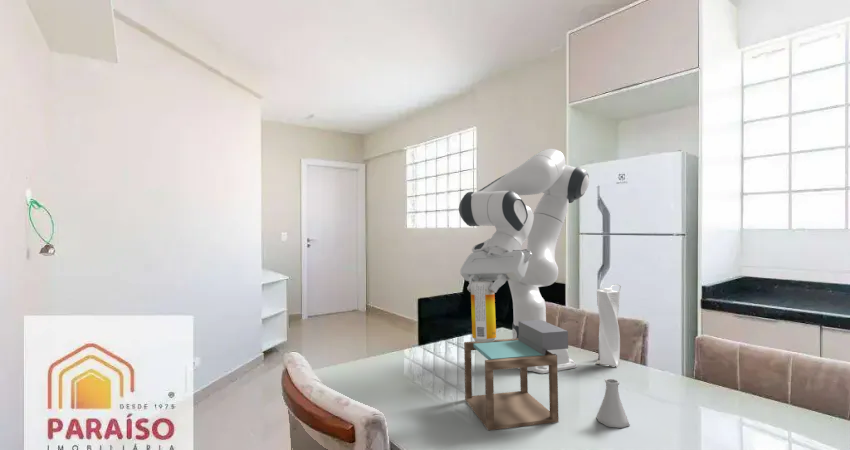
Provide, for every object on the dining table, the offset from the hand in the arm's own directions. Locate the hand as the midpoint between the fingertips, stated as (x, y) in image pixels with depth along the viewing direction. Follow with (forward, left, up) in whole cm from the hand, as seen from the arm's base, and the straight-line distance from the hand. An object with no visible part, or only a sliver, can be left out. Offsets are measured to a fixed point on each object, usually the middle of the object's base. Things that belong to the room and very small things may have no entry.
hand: (480, 290), depth 105 cm
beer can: (0, +1, -13) cm, 13 cm away
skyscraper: (-56, -27, -32) cm, 70 cm away
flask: (-29, +11, -32) cm, 45 cm away
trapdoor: (-10, -1, -17) cm, 20 cm away
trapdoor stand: (-7, -1, -32) cm, 32 cm away
